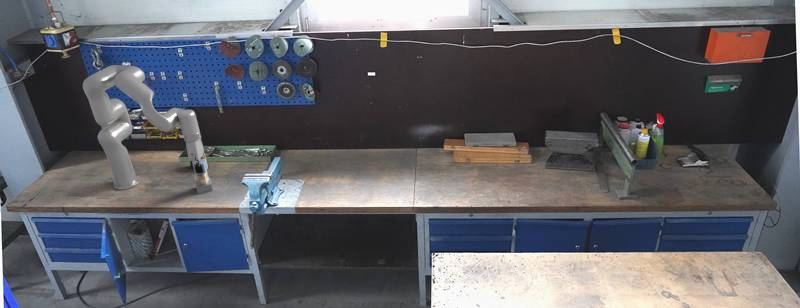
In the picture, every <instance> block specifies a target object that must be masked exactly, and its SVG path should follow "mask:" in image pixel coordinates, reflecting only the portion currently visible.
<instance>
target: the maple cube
mask: <svg viewBox="0 0 800 308" xmlns="http://www.w3.org/2000/svg"><path fill="white" fill-rule="evenodd" d="M208 174H209V173H208V170H207V171H206V173H198V174H195V173H194V176H193V179H194V182H195V187H196V186H198V185H207V183H208V181H209V178H210V177H209V175H208Z"/></svg>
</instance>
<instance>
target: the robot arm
mask: <svg viewBox="0 0 800 308" xmlns="http://www.w3.org/2000/svg"><path fill="white" fill-rule="evenodd" d="M145 79H146V75H145V72H144V71H143V70H142V69H141V68H140V67H137V66H133V65H121V64H118V65H117V64H116V65H114V64H111V65H108V66H106V67H105V68H103V69H101V70H98V71H97V72H95V73H93V74H91V75H90V76H87V77H86V78H85V79H84V80H83V83H82V89H83V91H84V94H85V96H86V97H87V99H88V102H89V107H90V108H91V111H92V115H93V117H94V120H95V122H96V123H97V125H99V126H102V127H103V128H102V129H101V130H100V131H99V132H98V134H97V140H98V143H99V144H100V146H101V147H102V150H103V151H104V154H105V156H106V159H107V160H108V161H107V162H108V164H109V166H110V170H111V172H112V176H107V178H106V180H107V183H112V184H113V185H112V186H113V188H114V189H116V190H118V191H119V190H121V191H122V190H123V191H124V190H128V189H132V188H134V187H136V186H137V185H138V184H140V182H141V177H140V176H139V175H136V172H135V169H134V166H133V163H132V160H131V156H130V154H129V152H128V149H127V147H126V146H125V145H123V143H122V141H124V140H125V139H126V138H128V137H129V136H130V135H132V133H133V125H132V122H131V118H130V114H129V111H128V108H127V106H126V104H125V103H124V102H123V101H122V100H121V99H119V98H110V97H109V95H108V93H107V92H106V91H107V90H109V89H111V88H112V87H114V86H115V87H116V88H118V89H119V90H120V91H121V92H123V93H124V94H125V95H126V96H128V97H129V99H131V100H133V101H134V102H136V103H137V104H138V105H139V106H140V109H141V112H142V114H143V115H144V118H145V119H146V120H147V122H149V124H151V125H152V126H154V127H155V128H157V130H159V131H161V132H166V133H168V132H171V131H172V130H173V129H175V128H176V127H177V126H179V125H180V130H181V133H182V136H183V141H184V142H185V147H186V152H187V157H188V162H190V161H192V164H193V165H194V167H195V171H196V173H203V169H202V166H201V165H200V159H204V156H203V153H204V154H205V150H204V149H205V148H204V145H203V142H202V135H201V131H200V127H199V122H198V120H197V118H198V117H197V114H196V112H195V111H194V110H193V109H183V108H182V109H181V108H178V107H173V108H170V109H169V110H168V111H165V112H164V113H163V114H161V113H160V112H158V111H157V110H156V109H155V107H154V105H153V98H154V96H155V91H153V90H152V89H151V88H150V87H149V86H148V85H146V84H145V83H144V82H145ZM196 159H197V160H196ZM196 161H198V163H196Z"/></svg>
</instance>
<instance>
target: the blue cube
mask: <svg viewBox="0 0 800 308" xmlns="http://www.w3.org/2000/svg"><path fill="white" fill-rule="evenodd" d="M196 160H197V159H196ZM206 160H207V158H206V159H200V165H201V166H202V169H203V173H206V171H207V172H208V170H209V169H208V166H207V162H206ZM196 163H198V161H196ZM192 168H193V171H194V175H195V174H198V173H196V171H195V167H194V165H193V167H192ZM207 169H208V170H207Z"/></svg>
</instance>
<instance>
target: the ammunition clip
mask: <svg viewBox="0 0 800 308" xmlns="http://www.w3.org/2000/svg"><path fill="white" fill-rule="evenodd" d="M203 156H204V159H206V162H207V166H208V169H207V171H208V170H209V169H210V166H209V165H210V164H209V161H208V159H207V157H206V154H205V152H204V153H203ZM189 162H190V167H191V168H193V164H192V161H189Z"/></svg>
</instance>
